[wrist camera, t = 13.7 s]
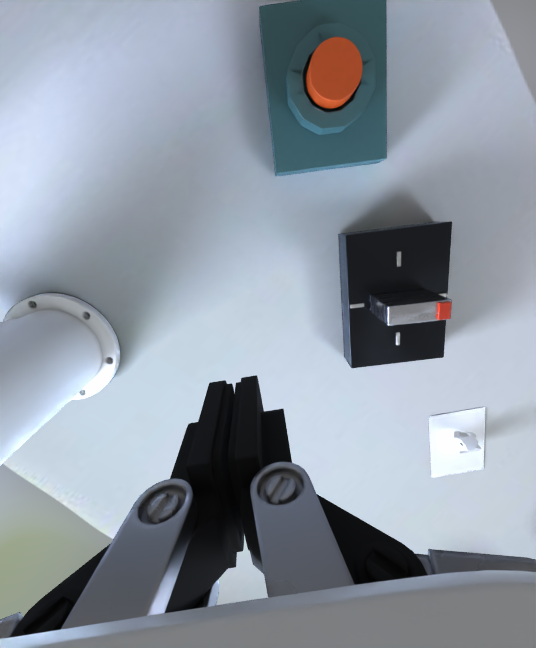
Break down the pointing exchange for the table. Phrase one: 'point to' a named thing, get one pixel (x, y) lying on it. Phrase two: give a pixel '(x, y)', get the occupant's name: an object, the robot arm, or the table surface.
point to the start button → (334, 72)
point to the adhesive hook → (457, 442)
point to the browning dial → (410, 307)
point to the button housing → (292, 95)
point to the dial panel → (392, 290)
